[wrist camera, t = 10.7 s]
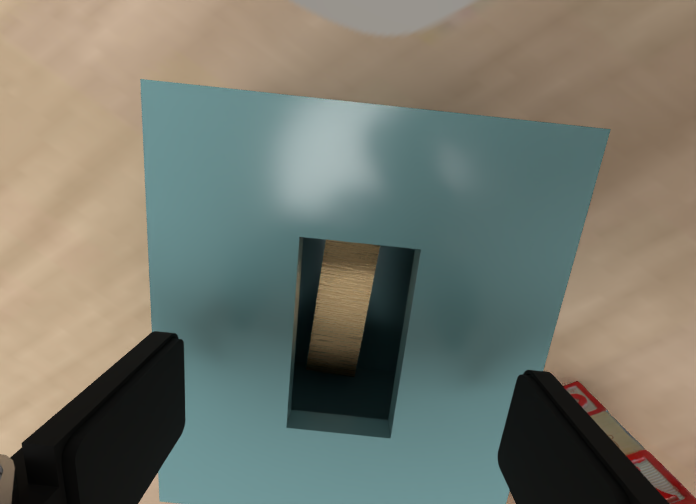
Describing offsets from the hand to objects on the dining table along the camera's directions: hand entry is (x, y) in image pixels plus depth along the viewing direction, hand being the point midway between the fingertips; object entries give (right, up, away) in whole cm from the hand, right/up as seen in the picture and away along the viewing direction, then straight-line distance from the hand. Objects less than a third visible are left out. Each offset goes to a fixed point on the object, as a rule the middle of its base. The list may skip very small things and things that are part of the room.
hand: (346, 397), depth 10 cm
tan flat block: (-1, -2, +11) cm, 11 cm away
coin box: (0, +3, +12) cm, 13 cm away
